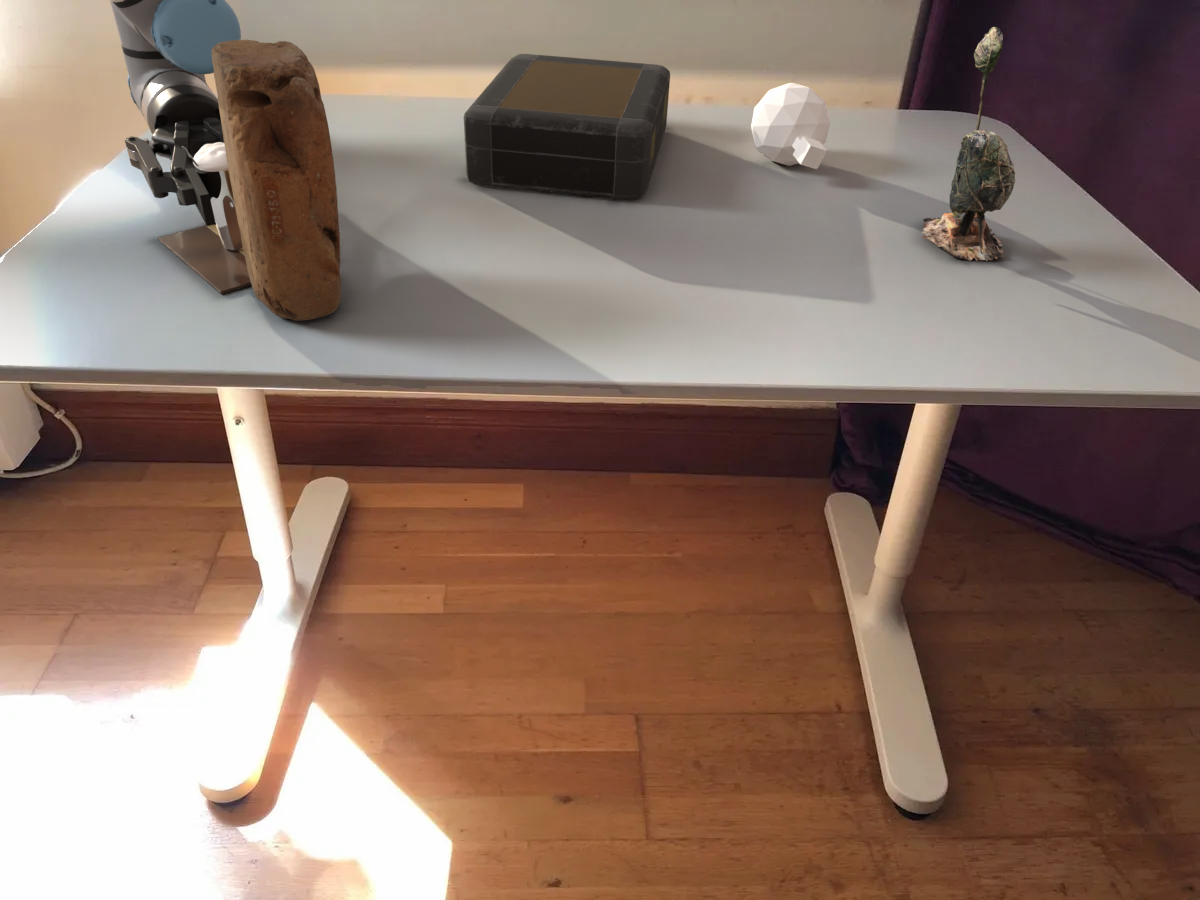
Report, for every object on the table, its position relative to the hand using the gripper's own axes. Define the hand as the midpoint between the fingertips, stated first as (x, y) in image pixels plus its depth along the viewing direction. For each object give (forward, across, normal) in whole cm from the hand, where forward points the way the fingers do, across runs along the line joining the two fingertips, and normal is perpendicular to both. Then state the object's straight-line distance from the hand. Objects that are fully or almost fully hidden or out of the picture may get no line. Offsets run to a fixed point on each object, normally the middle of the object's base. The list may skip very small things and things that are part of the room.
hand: (239, 204), depth 81 cm
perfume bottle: (-2, -61, -7) cm, 62 cm away
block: (+6, -2, -6) cm, 9 cm away
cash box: (-15, -40, -7) cm, 43 cm away
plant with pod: (+23, -64, -7) cm, 68 cm away
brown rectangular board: (-5, 0, -6) cm, 8 cm away
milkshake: (-5, 0, -6) cm, 8 cm away
